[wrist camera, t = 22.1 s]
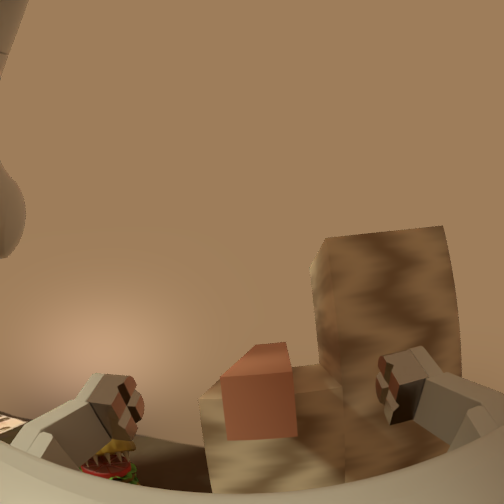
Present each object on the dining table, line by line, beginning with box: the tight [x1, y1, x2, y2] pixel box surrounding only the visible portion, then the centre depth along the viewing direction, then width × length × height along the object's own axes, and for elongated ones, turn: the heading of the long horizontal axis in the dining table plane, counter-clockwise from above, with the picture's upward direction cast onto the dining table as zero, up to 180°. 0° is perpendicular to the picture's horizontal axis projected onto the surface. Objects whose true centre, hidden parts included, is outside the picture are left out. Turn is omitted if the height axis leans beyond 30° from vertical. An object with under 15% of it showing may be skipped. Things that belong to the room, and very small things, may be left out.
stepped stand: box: [198, 226, 462, 494], centre depth 24 cm, size 20×12×26 cm, turn 85°
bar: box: [220, 342, 298, 441], centre depth 20 cm, size 3×18×3 cm, turn 175°
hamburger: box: [79, 439, 141, 486], centre depth 22 cm, size 8×7×12 cm
